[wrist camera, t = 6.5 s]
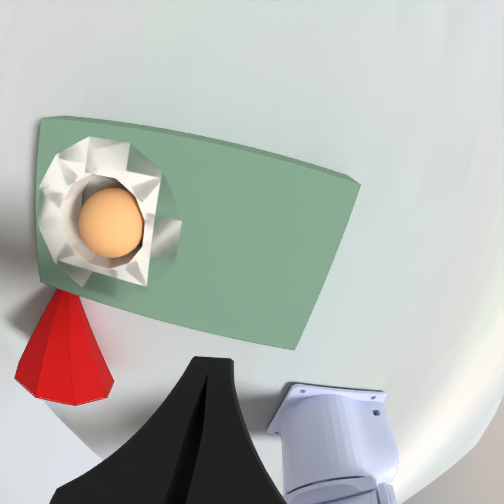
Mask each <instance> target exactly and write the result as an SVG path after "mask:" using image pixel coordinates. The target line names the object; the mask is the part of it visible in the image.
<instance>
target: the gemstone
mask: <svg viewBox="0 0 504 504" xmlns="http://www.w3.org/2000/svg"><path fill="white" fill-rule="evenodd" d="M15 379H16V380H17V381H18V382H19V381H20V382H21V383H22V384H23V385H24V386H25V387H26V388H25V387H24V386H23V385H22V384H21V383H20V382H19V383H20V384H21V385H22V386H23V387H24V388H25V389H26V390H28V391H29V392H30V391H31V392H32V393H33V394H34V395H33V394H32V393H31V392H30V393H31V394H32V395H33V396H34V397H35V398H40V397H42V398H40V399H44V398H46V399H44V400H48V401H53V400H55V401H53V402H57V403H62V404H67V405H73V404H74V405H73V406H77V405H81V404H85V403H89V402H93V401H97V400H101V399H104V398H108V395H109V393H110V390H111V388H112V386H113V383H114V379H113V377H112V375H111V373H110V371H109V369H108V367H107V365H106V362H105V360H104V358H103V356H102V354H101V351H100V349H99V347H98V344H97V342H96V340H95V337H94V335H93V332H92V330H91V327H90V325H89V322H88V320H87V317H86V314H85V312H84V309H83V306H82V304H81V301H80V298H79V296H78V295H75V294H72V293H70V292H67V291H64V290H61V289H57V291H56V292H55V294H54V296H53V297H52V299H51V301H50V303H49V304H48V306H47V308H46V310H45V312H44V313H43V315H42V317H41V319H40V321H39V323H38V325H37V326H36V328H35V330H34V332H33V334H32V336H31V338H30V340H29V342H28V344H27V346H26V348H25V350H24V352H23V354H22V356H21V359H20V361H19V363H18V367H17V370H16V374H15ZM112 382H113V383H112ZM110 387H111V388H110ZM109 389H110V390H109ZM107 394H108V395H107ZM36 396H37V397H36ZM103 397H104V398H103ZM99 398H100V399H99ZM49 399H50V400H49ZM95 399H96V400H95ZM91 400H93V401H91ZM58 401H60V402H58ZM87 401H89V402H87ZM63 402H65V403H63ZM83 402H85V403H83ZM68 403H70V404H68ZM79 403H81V404H79ZM75 404H76V405H75Z"/></svg>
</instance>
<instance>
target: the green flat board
mask: <svg viewBox="0 0 504 504" xmlns="http://www.w3.org/2000/svg"><path fill="white" fill-rule="evenodd" d="M94 174H96V175H101V176H106V177H111V178H116V179H117V180H118V181H119V182H120V183H121V184H122V185H124V186H125V187H126V188H127V189H128V190H129V191H130V192H131V193H132V194H133V195H135V196H136V199H137V202H138V204H139V207H140V210H141V212H142V215H143V218H144V220H145V227H144V236H143V245H142V246H141V247H138V248H135V249H133V250H132V251H131V252H129V253H128V254H126V255H124V256H121V257H116V258H107V257H103V256H100V255H98V254H96V253H94V252H93V251H91V250H90V249H89V248H88V247H87V245H86V244H85V243H84V241H83V239H82V237H81V234H80V230H79V217H80V213H81V210H82V198H83V190H84V189H85V187H86V186H87V184H88V182H89V181H90V179H91V178H92V176H93V175H94ZM360 186H361V184H359V183H358V182H356V181H355V180H353V179H352V178H351V177H349V176H348V175H345V174H342V173H338V172H335V171H332V170H329V169H326V168H323V167H320V166H316V165H313V164H310V163H306V162H303V161H300V160H296V159H293V158H289V157H286V156H282V155H278V154H275V153H271V152H267V151H263V150H259V149H256V148H252V147H248V146H243V145H239V144H235V143H231V142H227V141H222V140H218V139H213V138H209V137H204V136H199V135H194V134H189V133H184V132H179V131H173V130H168V129H162V128H156V127H150V126H144V125H138V124H131V123H124V122H117V121H109V120H101V119H92V118H83V117H72V116H57V117H47V118H41V125H40V133H39V142H38V154H37V168H36V200H35V208H36V240H37V255H38V267H39V276H40V282H42V283H45V284H47V285H50V286H53V287H56V288H58V289H61V290H64V291H67V292H70V293H72V294H75V295H78V296H81V297H84V298H87V299H90V300H93V301H96V302H99V303H102V304H106V305H109V306H112V307H115V308H118V309H122V310H125V311H128V312H132V313H135V314H139V315H142V316H146V317H149V318H153V319H156V320H160V321H164V322H167V323H171V324H175V325H179V326H183V327H187V328H190V329H195V330H199V331H203V332H207V333H211V334H215V335H220V336H224V337H229V338H233V339H238V340H243V341H247V342H252V343H257V344H262V345H267V346H272V347H278V348H283V349H289V350H294V351H295V348H296V346H297V344H298V342H299V340H300V338H301V335H302V333H303V331H304V329H305V326H306V324H307V322H308V320H309V317H310V315H311V313H312V311H313V308H314V306H315V304H316V301H317V299H318V297H319V294H320V292H321V289H322V287H323V285H324V282H325V280H326V277H327V275H328V272H329V270H330V267H331V265H332V262H333V260H334V257H335V255H336V252H337V250H338V247H339V244H340V242H341V239H342V237H343V234H344V231H345V229H346V226H347V223H348V220H349V218H350V215H351V212H352V209H353V207H354V204H355V201H356V198H357V195H358V192H359V189H360Z"/></svg>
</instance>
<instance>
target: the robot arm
mask: <svg viewBox="0 0 504 504" xmlns="http://www.w3.org/2000/svg"><path fill="white" fill-rule="evenodd" d="M303 389H304V390H303ZM386 398H387V394H386V393H385V392H374V391H360V390H348V389H338V388H328V387H319V386H311V385H303V384H294V385H292V386H291V388H290V390H289V392H288V393H287V395H286V397H285V399H284V401H283V402H282V404H281V406H280V408H279V410H278V411H277V413H276V415H275V417H274V418H273V420H272V422H271V423H270V425H269V427H268V429H267V433H268V434H270V435H279V436H281V441H282V465H283V493H284V496H282V495H281V494H280V492H279V491H278V489H277V488H276V486H275V484H274V483H273V481H272V479H271V478H270V476H269V474H268V473H267V471H266V469H265V467H264V465H263V463H262V462H261V460H260V458H259V456H258V454H257V451H256V449H255V447H254V445H253V443H252V440H251V438H250V435H249V433H248V430H247V427H246V425H245V422H244V419H243V416H242V413H241V409H240V406H239V402H238V398H237V394H236V390H235V384H234V361H233V360H232V359H230V358H214V357H199V356H195V357H193V358H192V360H191V361H190V363H189V365H188V367H187V368H186V370H185V372H184V373H183V375H182V376H181V378H180V379H179V381H178V382H177V384H176V385H175V387H174V388H173V390H172V391H171V392H170V394H169V395H168V396H167V398H166V399H165V401H164V402H163V403H162V404H161V406H160V407H159V408H158V409H157V410H156V412H155V413H154V414H153V415H152V416H151V418H150V419H149V420H148V421H147V422H146V423H145V424H144V425H143V426H142V427H141V428H140V430H139V431H138V432H136V433H135V434H134V435H133V436H132V437H131V438H130V439H129V440H128V441H127V442H126V443H125V444H124V445H122V446H121V447H120V448H119V449H118V450H117V451H116V452H114V453H113V454H112V455H111V456H109V457H108V458H107V459H105V460H104V461H102V462H101V463H100V464H98V465H97V466H95V467H94V468H92V469H91V470H89V471H88V472H86V473H85V474H83V475H81V476H80V477H78V478H76V479H74V480H72V481H70V482H68V483H67V484H65V485H63V486H61V487H59V488H57V489H56V491H55V494H54V495H53V497H52V499H51V501H50V503H49V504H397V502H396V498H395V494H394V490H393V486H391V485H389V484H390V483H391V482H392V480H393V479H394V477H395V475H396V472H397V469H398V463H399V452H398V447H397V444H396V440H395V437H394V434H393V431H392V428H391V425H390V421H389V418H388V415H387V412H386V409H385V406H384V403H383V401H384V400H385V399H386Z"/></svg>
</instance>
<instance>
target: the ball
mask: <svg viewBox="0 0 504 504" xmlns="http://www.w3.org/2000/svg"><path fill="white" fill-rule="evenodd" d="M144 227H145V220H144V218H143V215H142V212H141V210H140V207H139V204H138V202H137V199H136V197H135V196H134V195H133V194H132V193H130V192H128V191H126V190H124V189H120V188H106V189H102V190H100V191H98V192H96V193H94V194H93V195H92V196H91V197H90V198H89V199H88V200H87V201H86V202H85V204H84V206H83V208H82V210H81V213H80V217H79V230H80V234H81V237H82V239H83V241H84V243H85V244H86V245H87V247H88V248H89V249H90V250H91V251H93V252H94V253H96V254H98V255H100V256H103V257H107V258H116V257H121V256H124V255H126V254H128V253H129V252H131V251H132V250H133V249H134V248H136V246H137V245H138V244H139V243H140V241H141V239H142V237H143V235H144Z"/></svg>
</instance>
